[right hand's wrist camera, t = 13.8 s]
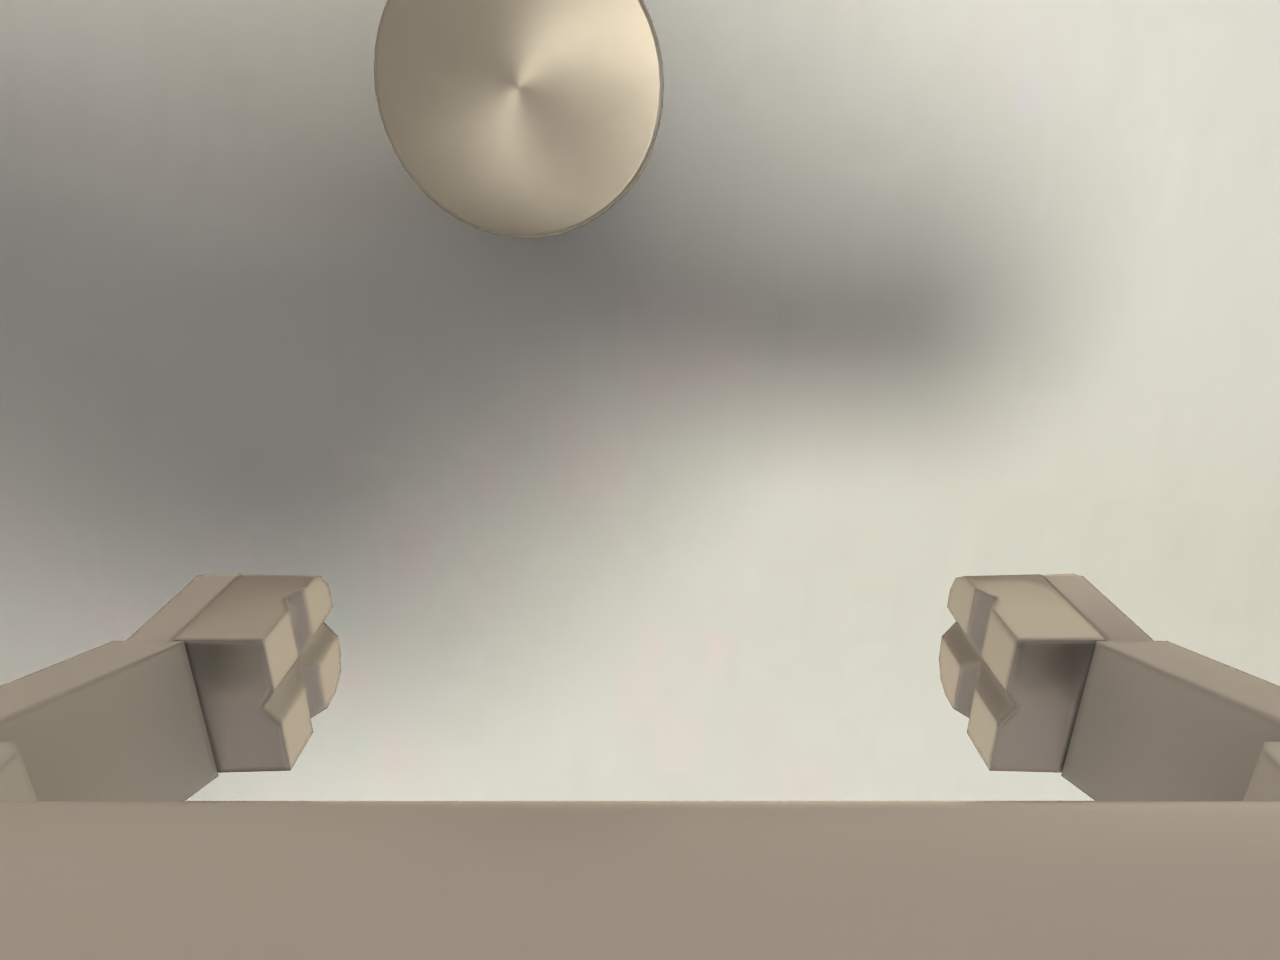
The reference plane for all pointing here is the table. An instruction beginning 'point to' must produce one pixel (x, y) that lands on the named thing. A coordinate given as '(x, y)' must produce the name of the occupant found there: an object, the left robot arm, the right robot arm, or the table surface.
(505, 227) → the tin
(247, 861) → the right robot arm
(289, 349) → the table surface
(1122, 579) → the table surface
